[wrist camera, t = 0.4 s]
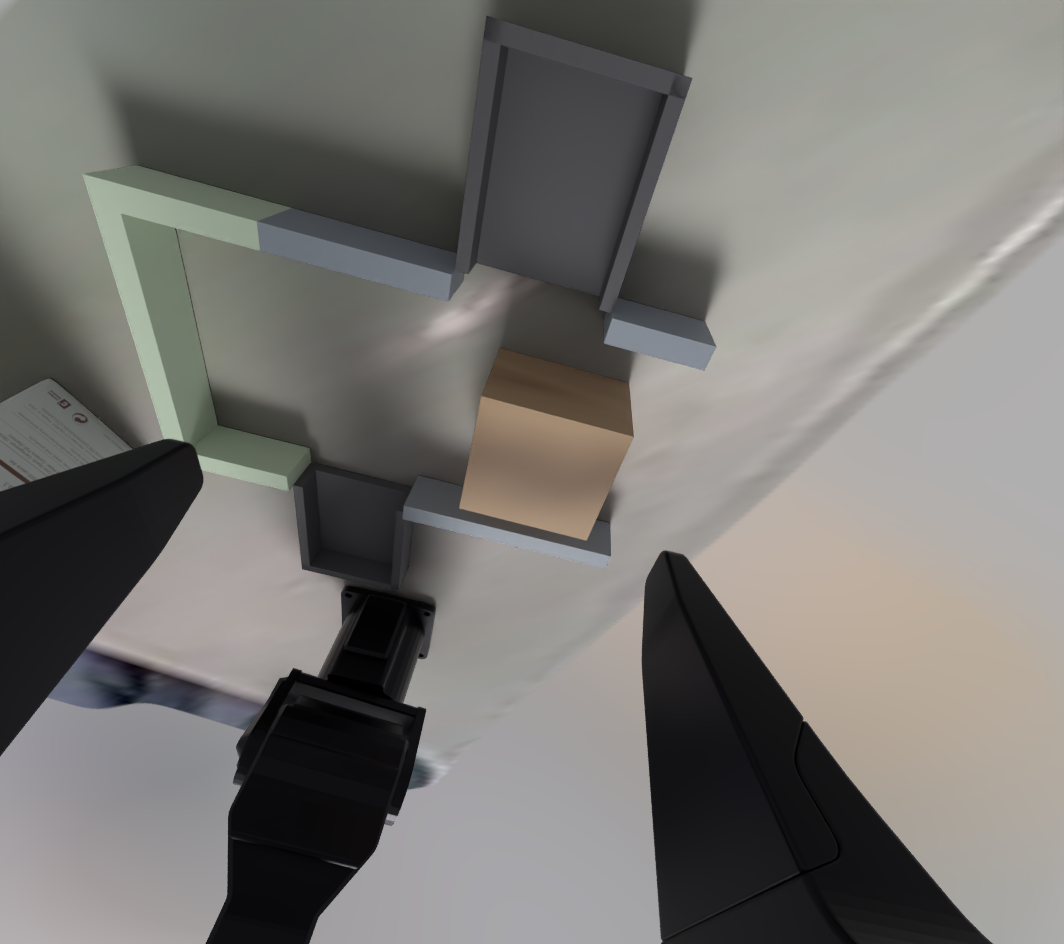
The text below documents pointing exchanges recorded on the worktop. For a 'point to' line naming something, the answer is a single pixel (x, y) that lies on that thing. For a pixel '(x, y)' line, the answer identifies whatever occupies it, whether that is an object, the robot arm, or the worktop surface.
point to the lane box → (421, 278)
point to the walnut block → (546, 444)
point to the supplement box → (49, 435)
